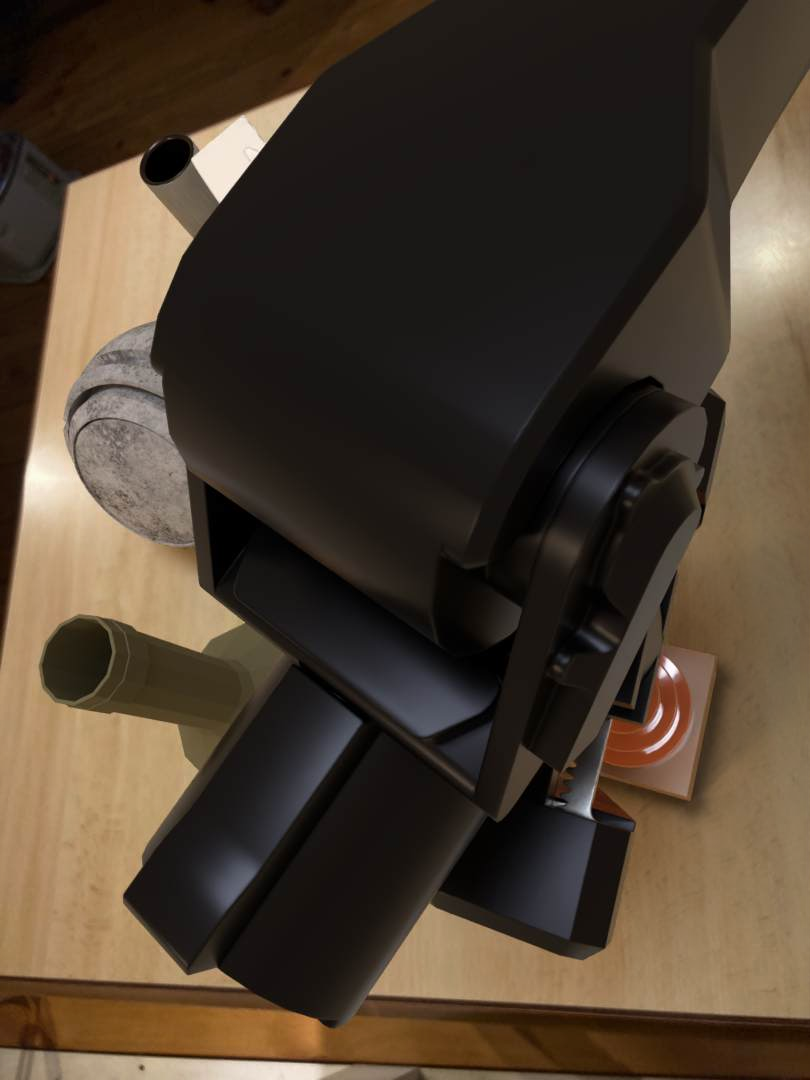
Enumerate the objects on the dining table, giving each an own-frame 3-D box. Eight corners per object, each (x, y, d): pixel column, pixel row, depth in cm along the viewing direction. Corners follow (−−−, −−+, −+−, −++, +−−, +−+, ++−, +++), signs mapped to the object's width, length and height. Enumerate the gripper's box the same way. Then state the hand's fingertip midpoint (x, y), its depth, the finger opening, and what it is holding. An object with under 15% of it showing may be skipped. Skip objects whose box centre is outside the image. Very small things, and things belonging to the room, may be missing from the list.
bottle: (354, 697, 53) (-12, 565, 26) (461, 681, 51) (182, 520, 24) (362, 813, 50) (-34, 799, 24) (474, 801, 49) (181, 769, 22)
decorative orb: (135, 558, 62) (-23, 484, 49) (189, 383, 66) (55, 269, 52) (311, 584, 57) (187, 508, 43) (359, 391, 60) (258, 265, 47)
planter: (209, 242, 70) (132, 153, 60) (255, 215, 69) (185, 121, 60) (222, 281, 68) (145, 196, 59) (270, 254, 67) (200, 163, 58)
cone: (704, 662, 41) (703, 642, 37) (678, 784, 40) (674, 778, 35) (583, 635, 43) (568, 613, 39) (555, 749, 42) (537, 740, 38)
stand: (716, 674, 46) (716, 654, 41) (690, 801, 45) (687, 798, 39) (591, 645, 49) (576, 623, 44) (562, 764, 48) (543, 756, 42)
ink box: (267, 261, 67) (184, 155, 56) (317, 222, 66) (242, 109, 56) (314, 329, 63) (235, 230, 53) (367, 289, 63) (298, 181, 52)
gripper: (366, 253, 27) (483, 451, 41) (162, 846, 23) (370, 840, 36) (734, 272, 22) (724, 487, 36) (566, 1012, 18) (628, 934, 32)
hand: (604, 678), depth 35 cm, fingers open, 9 cm apart
